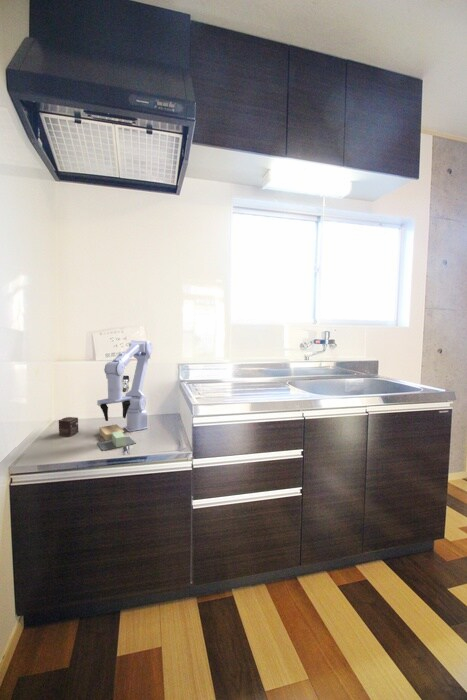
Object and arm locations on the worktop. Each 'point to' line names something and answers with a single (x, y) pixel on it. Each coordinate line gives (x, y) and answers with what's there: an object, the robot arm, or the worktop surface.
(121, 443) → the block
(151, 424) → the worktop surface
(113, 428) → the step
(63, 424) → the box
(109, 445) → the mat
